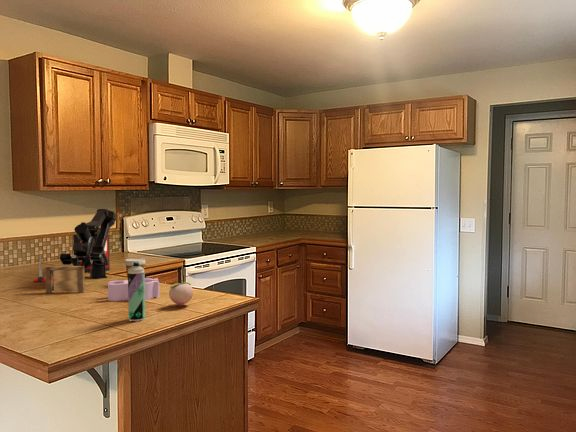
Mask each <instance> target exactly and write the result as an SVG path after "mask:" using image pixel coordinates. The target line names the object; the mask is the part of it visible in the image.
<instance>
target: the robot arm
mask: <svg viewBox="0 0 576 432" xmlns="http://www.w3.org/2000/svg"><path fill="white" fill-rule="evenodd" d="M117 215H118V214H117V213H116V212H115V211H112V210H109V209H108V208H97V210H96V213H95V214H94V216H93V217H92V218H91V220H90V221H88V222H85V221H84V222H83V221H82V222H80V223H79V224H77V225H76V226H75V227H74V228H73V229H74V232H75V235H76V234H77V236H78V238H79V239H80V240H81V242H80V243H73V242H72V243H73V244H72V251H73V254H71V253H69V252H68V253H65V252H62V253H60V254H59V256H58V259H59V261H60V262H61V263H62V265H63V266H65V265H66V266H71V265H72V266H80V264H79V261H82V264H81V266H84V270H86V269H87V268H88V267H89V266H91V269H90V272H89V277H90V278H92V279H94V280H98V279H104V278H105V279H106V278H108V275H106V274H107V273H106V272H107V271H106V266H107V265H108V259H107V256H106V253H105V251H104V248H105V244H106V240H107V237H108V234H109V233H110V229H111V228H112V227H113V226H115V223H116V221H117V219H118V216H117ZM92 236H97V240H96V243H95V241H94V240H95V239H94V237H92ZM93 244H95V246H94V247H93ZM74 251H75V252H74ZM74 254H75V255H74Z"/></svg>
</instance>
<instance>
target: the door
mask: <svg viewBox="0 0 576 432" xmlns="http://www.w3.org/2000/svg"><path fill="white" fill-rule="evenodd" d="M52 277H53V278H54V280H53V285H52V291H53V292H54V293H58V292H59V293H63V292H65V293H66V292H67V293H69V292H71V293H72V292H73V293H74V292H78V270H52Z"/></svg>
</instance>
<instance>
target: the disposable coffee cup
mask: <svg viewBox="0 0 576 432" xmlns="http://www.w3.org/2000/svg"><path fill="white" fill-rule="evenodd" d="M134 262H139V265H140V267H142V268H144V269H145V265H146V262H147V261H146V260H145V258H142V257H141V258H140V257H139V258H138V257H137V258H136V257H135V258H134V257H133V258H127V259H125V261H124V265H125V269H126V276H127V277H126V278H127V279H128V269H130V268H131V267H132V266H133V265H134Z"/></svg>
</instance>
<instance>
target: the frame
mask: <svg viewBox="0 0 576 432" xmlns="http://www.w3.org/2000/svg"><path fill="white" fill-rule="evenodd" d="M53 270H78V291H77V292H78V294H84V293H85V292H86V287H85V286H86V283H85V281H86V280H85V277H86V276H85V273H86V272H84V266H73V265H66V266H65V265H61V266H60V265H58V266H57V265H52V266H51V265H49V266H48V265H47V266H45V267H44V278H45V282H44V283H45V294H52V293H53V292H54V291H52V286H53V281H52V277H53V276H52V271H53Z"/></svg>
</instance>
